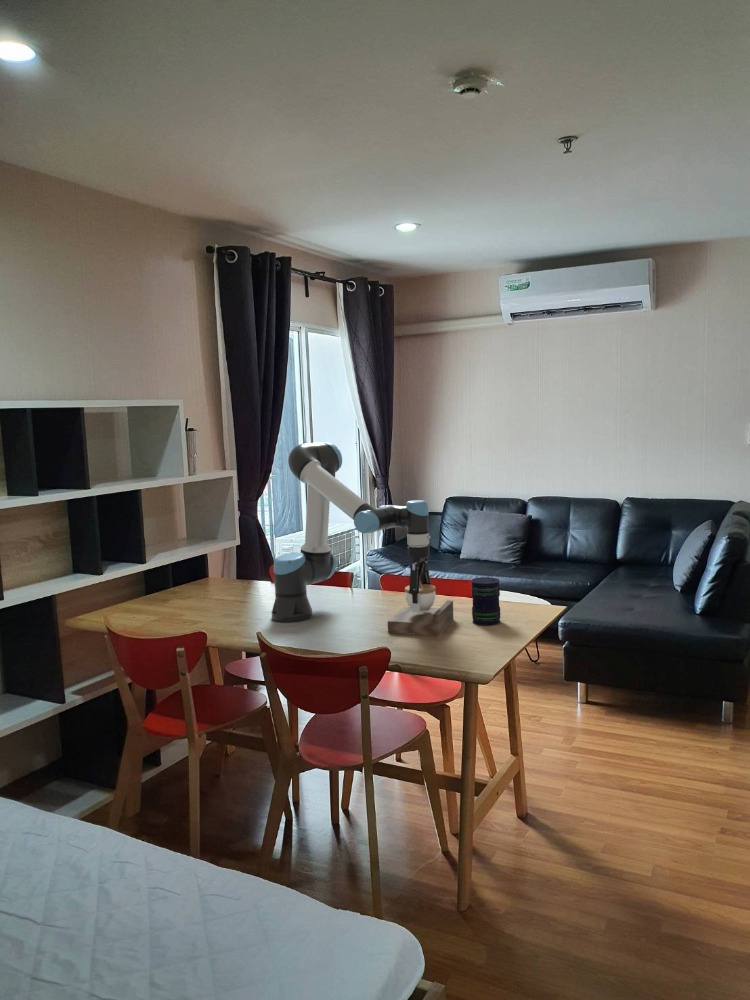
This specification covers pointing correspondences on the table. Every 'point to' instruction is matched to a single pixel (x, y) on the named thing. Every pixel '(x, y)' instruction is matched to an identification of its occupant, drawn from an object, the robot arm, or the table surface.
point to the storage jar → (485, 601)
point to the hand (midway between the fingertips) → (420, 608)
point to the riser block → (422, 620)
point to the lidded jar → (422, 596)
